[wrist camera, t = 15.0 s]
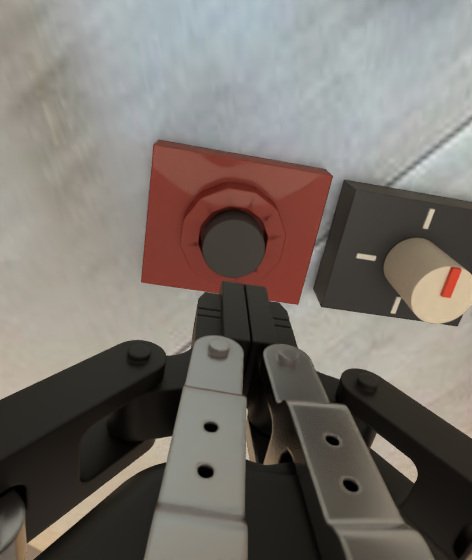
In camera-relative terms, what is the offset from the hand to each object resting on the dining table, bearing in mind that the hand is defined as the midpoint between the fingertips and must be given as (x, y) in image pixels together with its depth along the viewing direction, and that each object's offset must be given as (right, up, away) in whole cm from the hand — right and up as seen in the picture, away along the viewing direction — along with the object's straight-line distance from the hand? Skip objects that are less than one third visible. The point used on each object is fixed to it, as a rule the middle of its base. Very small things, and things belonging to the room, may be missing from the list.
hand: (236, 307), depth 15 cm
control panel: (+12, +3, +19) cm, 23 cm away
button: (0, +4, +14) cm, 15 cm away
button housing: (0, +5, +18) cm, 18 cm away
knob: (+13, +2, +16) cm, 20 cm away
